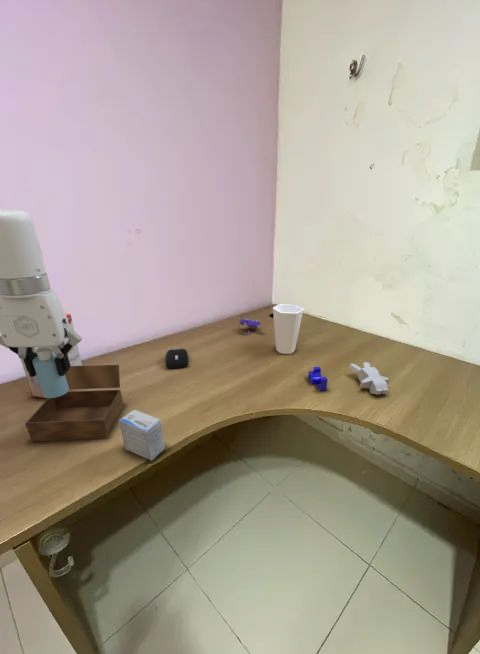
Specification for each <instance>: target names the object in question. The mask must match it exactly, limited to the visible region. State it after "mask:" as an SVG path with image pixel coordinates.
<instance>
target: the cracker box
mask: <svg viewBox="0 0 480 654" xmlns="http://www.w3.org/2000/svg"><path fill="white" fill-rule="evenodd" d="M65 313H66V316H67V319H68V323H69V326H70V328H71V329H72V330H74V331H75V327H74V324H73V323H74V322H73V319H72V314H71V313H67V312H65ZM64 341H65V343H66V344H67V343H68V342H69V341H70V339H69V338H68V337H67V338H64ZM39 348H41V347H33V352H36V350H37V349H39ZM50 348H51V347H50ZM51 350H52V353H54V351H53V349H52V348H51ZM36 353H37V352H36ZM67 355H68V358H69V362H70V366H83V363H82V359H81V354H80V349H79V345H78V344H76V345H75V346H74V347H72V348H71V350H70V351H69V352H68V353H67ZM20 362H21V364H22V369H23V371H24V374H25V378H26V381H27V383H28V386H29V390H30V393H31V396H32V397H36V398H42V399H46V400H47V399H48V398H46V397H44V396H43V393H42V390H41V387H40V384H39V381H38V378H37V375H36V376H34V377H30V375H29V372H28V371H27V369H26V366H25V363H24V360H23V359H20Z"/></svg>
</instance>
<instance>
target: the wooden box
mask: <svg viewBox="0 0 480 654" xmlns="http://www.w3.org/2000/svg"><path fill="white" fill-rule="evenodd" d="M123 408H124V401H123V396H122V390H121V389H102V390H101V389H99V390H98V389H97V390H73V391H72V390H69V391H68V392H67V393H66V394H64V395H62V396H59V397H56V398H48V399H47V398H46V399H45V401H43V403H42V404H41V405H40V406H39V407H38V409H37V410H35V412H34V413H33V414H31V416H30V417H29V418H28V420H27V421H26V422H25V427H26V430H27V432H28V435H29V438H30V440H31V442H50V441H70V440H90V439H107V438H109V436H110V434H111V431H112V430H113V427H114V426H115V424H116V422H117V420H118V419H119V415H120V414H121V412H122V410H123Z"/></svg>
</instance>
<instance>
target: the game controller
mask: <svg viewBox="0 0 480 654" xmlns="http://www.w3.org/2000/svg"><path fill="white" fill-rule="evenodd" d="M242 316H243V315H241V316H240V318H242ZM240 325H241V326H243V325H244V326H247V327H249V328H250V330H251V331H253V329H251V328H260V326H261V322H260V321H259V319H256V320H253V319H249V317H248V316H246V318H242V319H240V320H239V323H238V329H239V332H240V334H242V335H243V333H242V332H241V328H240ZM250 330H248V331H247V332H246V333H244V335H246V334H249V333H250ZM257 333H258V334H260V332H258V331H257ZM261 334H262V335H263V334H264V333H263V332H261Z"/></svg>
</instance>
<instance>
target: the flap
mask: <svg viewBox="0 0 480 654" xmlns="http://www.w3.org/2000/svg"><path fill="white" fill-rule="evenodd" d="M65 376H66V379H67V383H68V386H69V390H89V389H90V390H91V389H92V390H93V389H120V388H121V379H120V378H121V377H120V364H94V365H93V364H91V365H90V364H89V365H88V364H87V365H82V366H70V369H69V370H68V371H67V373H66V374H65Z"/></svg>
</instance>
